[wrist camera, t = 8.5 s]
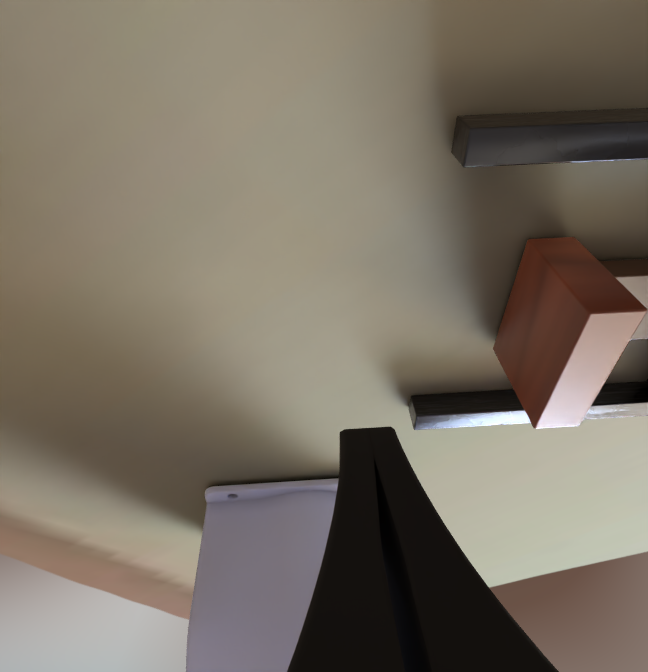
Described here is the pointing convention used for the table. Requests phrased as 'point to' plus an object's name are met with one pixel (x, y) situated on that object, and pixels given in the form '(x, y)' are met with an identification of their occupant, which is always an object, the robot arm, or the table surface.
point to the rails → (538, 148)
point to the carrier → (568, 327)
